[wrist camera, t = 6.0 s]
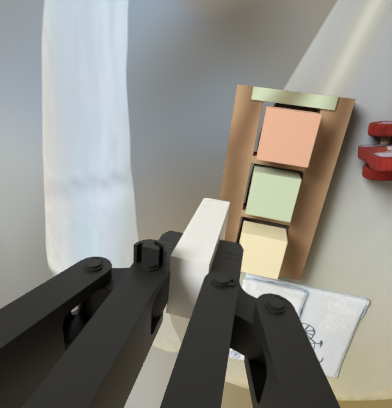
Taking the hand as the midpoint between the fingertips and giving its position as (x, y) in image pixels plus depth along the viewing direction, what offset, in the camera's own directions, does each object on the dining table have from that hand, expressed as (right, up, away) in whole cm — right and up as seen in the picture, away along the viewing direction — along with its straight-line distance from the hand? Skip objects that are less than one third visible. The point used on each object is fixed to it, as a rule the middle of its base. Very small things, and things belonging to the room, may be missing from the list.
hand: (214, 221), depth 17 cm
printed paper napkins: (+16, -21, +35) cm, 44 cm away
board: (+10, +4, +26) cm, 28 cm away
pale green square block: (+10, +3, +25) cm, 27 cm away
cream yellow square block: (+8, -5, +26) cm, 28 cm away
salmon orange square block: (+10, +10, +20) cm, 25 cm away
